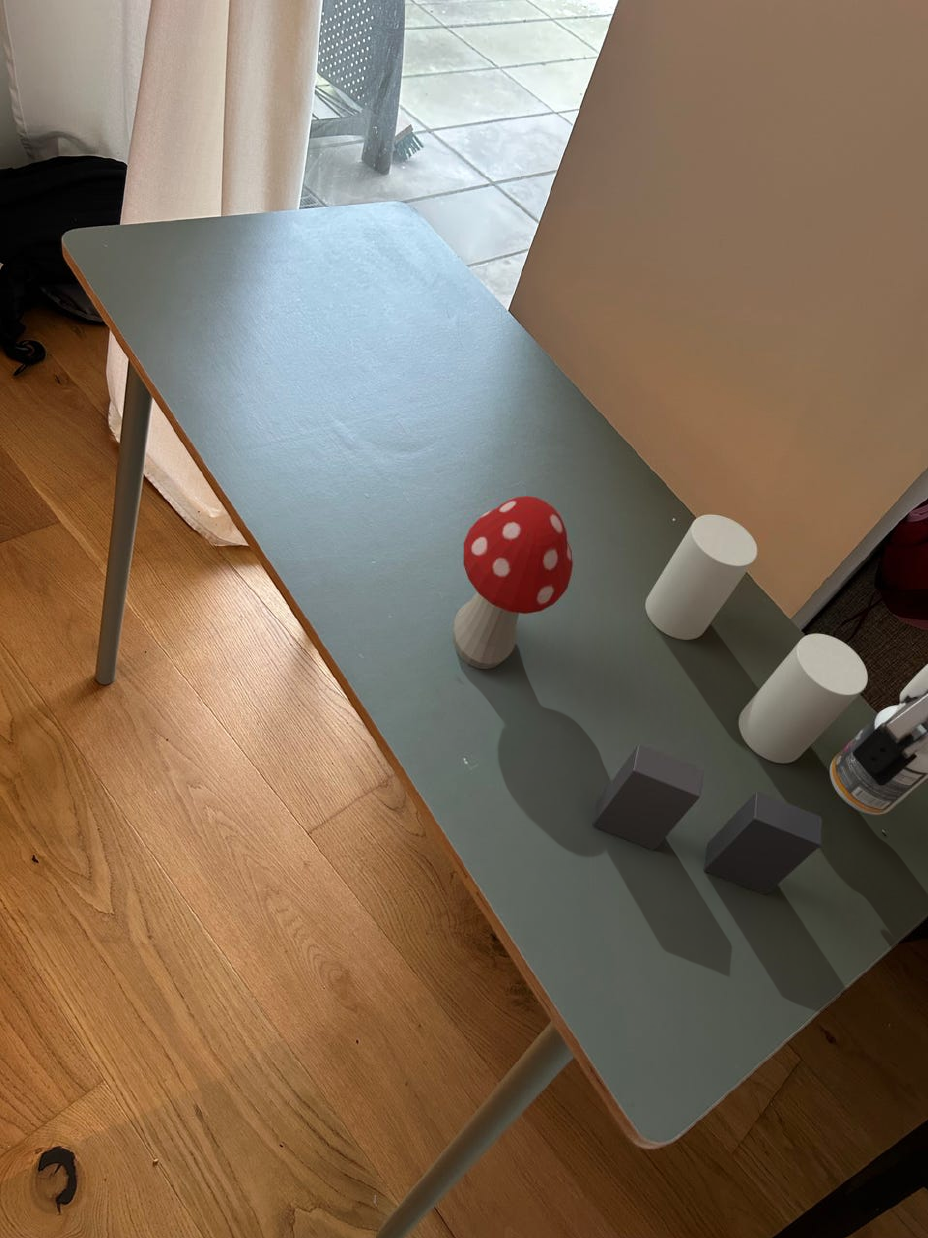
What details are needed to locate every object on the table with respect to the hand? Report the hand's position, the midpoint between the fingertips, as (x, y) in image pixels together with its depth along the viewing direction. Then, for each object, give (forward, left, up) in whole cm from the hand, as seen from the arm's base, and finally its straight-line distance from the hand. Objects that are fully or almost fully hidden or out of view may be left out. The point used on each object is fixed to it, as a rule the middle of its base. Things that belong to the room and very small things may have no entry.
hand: (895, 753), depth 76 cm
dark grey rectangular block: (+17, +9, -9) cm, 21 cm away
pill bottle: (0, 0, -5) cm, 5 cm away
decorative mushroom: (+32, -3, -9) cm, 33 cm away
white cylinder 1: (+16, -15, -9) cm, 23 cm away
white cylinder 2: (+6, -5, -9) cm, 12 cm away
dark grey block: (+8, +9, -9) cm, 15 cm away
